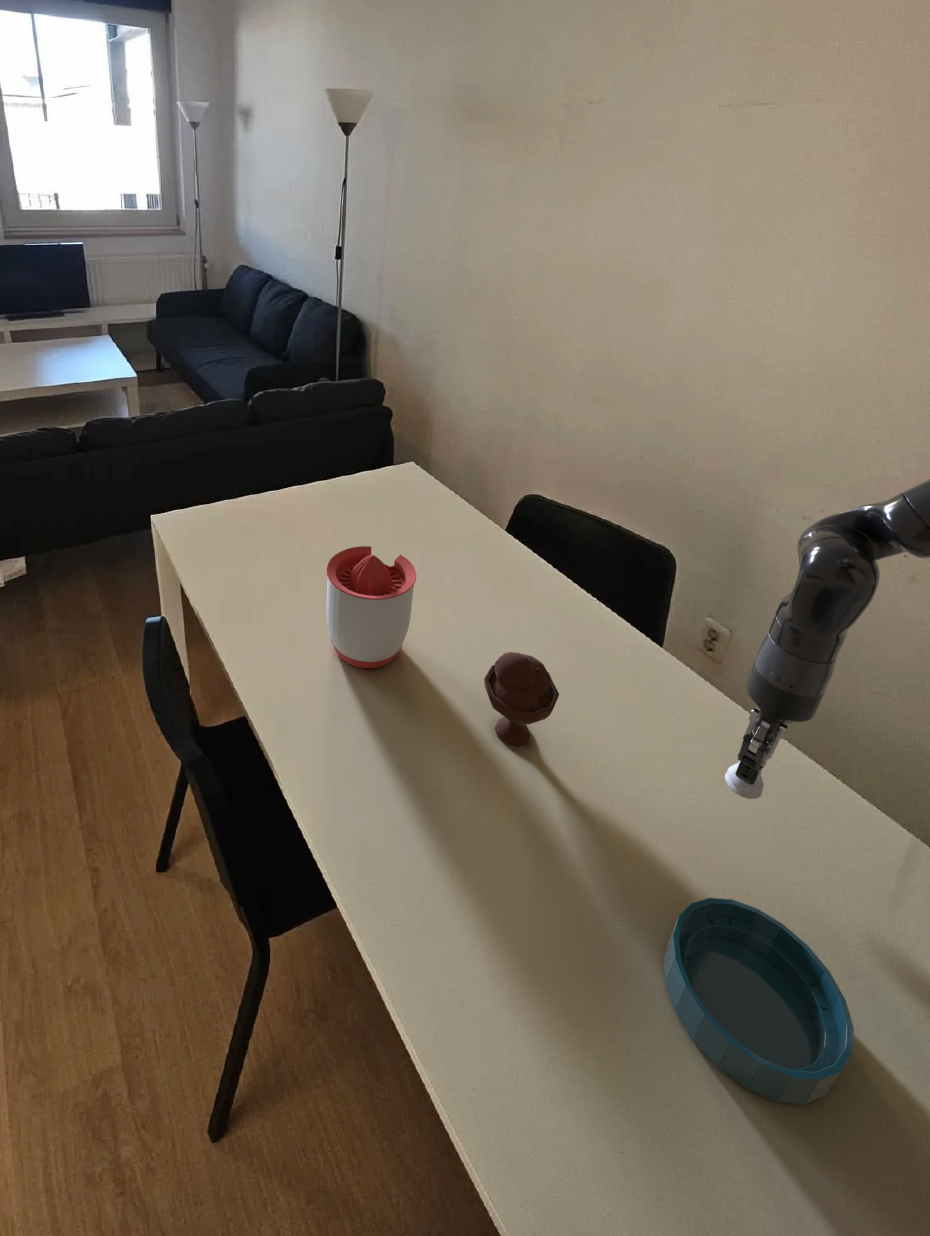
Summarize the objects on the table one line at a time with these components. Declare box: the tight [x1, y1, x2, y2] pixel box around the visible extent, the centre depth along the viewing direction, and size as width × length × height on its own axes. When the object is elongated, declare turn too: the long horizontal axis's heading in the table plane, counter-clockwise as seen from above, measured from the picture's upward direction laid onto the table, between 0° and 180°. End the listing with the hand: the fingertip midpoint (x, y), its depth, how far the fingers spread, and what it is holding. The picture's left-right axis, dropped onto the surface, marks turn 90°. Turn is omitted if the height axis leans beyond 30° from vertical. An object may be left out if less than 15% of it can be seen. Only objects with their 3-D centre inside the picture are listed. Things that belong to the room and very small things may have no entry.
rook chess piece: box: [724, 742, 773, 800], centre depth 87 cm, size 4×4×8 cm
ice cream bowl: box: [483, 651, 560, 747], centre depth 100 cm, size 11×11×15 cm
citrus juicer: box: [325, 545, 417, 669], centre depth 116 cm, size 16×17×20 cm
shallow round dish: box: [663, 897, 855, 1105], centre depth 69 cm, size 16×16×5 cm
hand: (749, 770), depth 87 cm, fingers closed on rook chess piece, 3 cm apart
